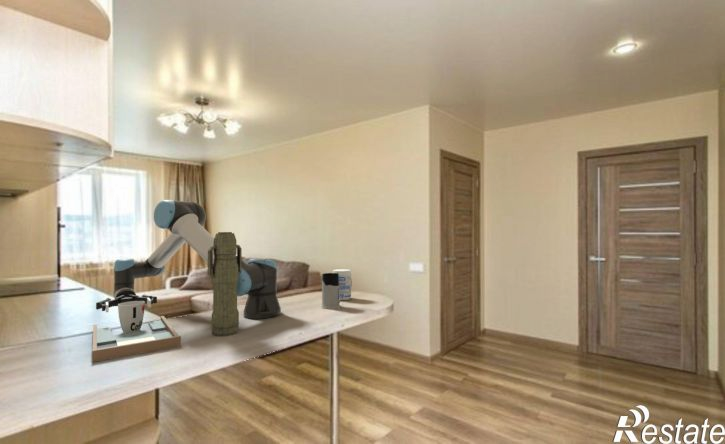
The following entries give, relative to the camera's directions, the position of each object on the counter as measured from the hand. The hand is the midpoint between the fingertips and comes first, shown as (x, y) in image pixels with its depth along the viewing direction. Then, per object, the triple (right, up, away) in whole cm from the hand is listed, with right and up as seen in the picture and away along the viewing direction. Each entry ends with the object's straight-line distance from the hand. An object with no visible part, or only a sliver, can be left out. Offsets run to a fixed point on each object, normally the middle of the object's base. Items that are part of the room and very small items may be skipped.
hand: (129, 306), depth 137 cm
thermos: (+40, -7, -11) cm, 42 cm away
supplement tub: (+78, -7, +47) cm, 91 cm away
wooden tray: (+12, -7, -17) cm, 22 cm away
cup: (+6, -7, -8) cm, 12 cm away
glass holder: (+76, -7, +29) cm, 82 cm away
